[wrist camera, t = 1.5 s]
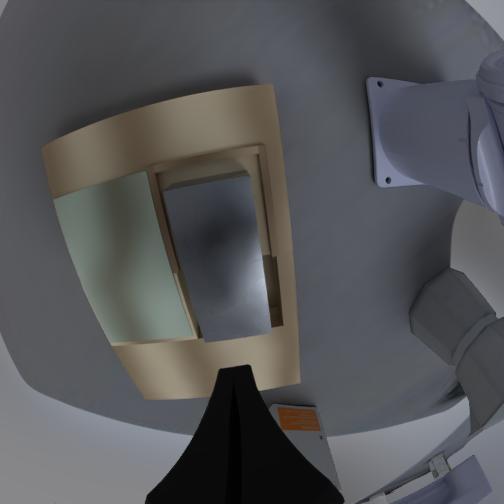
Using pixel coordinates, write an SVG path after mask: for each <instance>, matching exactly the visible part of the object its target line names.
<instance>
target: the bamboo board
mask: <svg viewBox="0 0 504 504" xmlns="http://www.w3.org/2000/svg"><path fill="white" fill-rule="evenodd" d="M41 148H42V154H43V159H44V165H45V170H46V175H47V179H48V184H49V188H50V192H51V196H52V200H53V204H54V207H55V211H56V214H57V218H58V221H59V224H60V228H61V231H62V234H63V237H64V240H65V243H66V246H67V249H68V251H69V254H70V257H71V259H72V262H73V265H74V267H75V270H76V272H77V275H78V277H79V280H80V282H81V284H82V287H83V289H84V291H85V294H86V296H87V298H88V300H89V302H90V304H91V307H92V309H93V311H94V313H95V315H96V317H97V319H98V321H99V323H100V325H101V327H102V329H103V331H104V333H105V334H106V336H107V338H108V340H109V342H110V344H111V345H112V347H113V349H114V351H115V352H116V354H117V356H118V358H119V359H120V361H121V363H122V364H123V366H124V368H125V369H126V371H127V372H128V374H129V376H130V377H131V379H132V380H133V382H134V383H135V385H136V386H137V388H138V389H139V391H140V392H141V394H142V395H143V397H144V398H145V400H161V399H186V398H201V397H211V395H212V392H213V389H214V385H215V382H216V378H217V374H218V370H219V369H220V368H227V367H234V366H240V365H246V364H249V365H251V368H252V371H253V375H254V378H255V382H256V385H257V388H258V391H261V390H267V389H273V388H278V387H284V386H289V385H294V384H299V383H300V357H299V334H298V315H297V298H296V283H295V269H294V257H293V245H292V233H291V222H290V212H289V202H288V193H287V183H286V175H285V166H284V158H283V150H282V142H281V134H280V127H279V119H278V112H277V106H276V99H275V92H274V86H273V83H272V84H261V85H251V86H242V87H235V88H228V89H221V90H215V91H209V92H204V93H198V94H193V95H188V96H184V97H179V98H175V99H171V100H167V101H163V102H159V103H155V104H151V105H148V106H144V107H141V108H137V109H134V110H131V111H128V112H125V113H121V114H118V115H116V116H113V117H110V118H107V119H104V120H101V121H99V122H96V123H94V124H91V125H88V126H86V127H83V128H81V129H79V130H76V131H74V132H72V133H69V134H67V135H65V136H63V137H60V138H58V139H56V140H54V141H52V142H50V143H48V144H46V145H44V146H42V147H41ZM243 170H247V171H248V173H249V174H250V176H251V183H252V190H253V197H254V204H255V211H256V218H257V225H258V232H259V239H260V247H261V254H262V261H263V269H264V276H265V283H266V291H267V298H268V306H269V313H270V321H271V329H272V333H269V334H263V335H257V336H251V337H245V338H238V339H231V340H224V341H217V342H209V343H205V341H204V338H203V335H202V332H201V329H200V326H199V323H198V320H197V317H196V314H195V310H194V307H193V304H192V301H191V297H190V294H189V291H188V287H187V284H186V280H185V277H184V273H183V270H182V266H181V263H180V259H179V255H178V252H177V248H176V244H175V240H174V236H173V232H172V228H171V224H170V220H169V216H168V211H167V207H166V203H165V198H164V194H163V191H164V190H165V189H167V188H168V187H169V186H170V185H171V184H172V183H177V182H182V181H187V180H192V179H197V178H202V177H207V176H213V175H219V174H224V173H230V172H237V171H243Z"/></svg>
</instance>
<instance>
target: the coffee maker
mask: <svg viewBox="0 0 504 504" xmlns="http://www.w3.org/2000/svg"><path fill="white" fill-rule="evenodd" d="M409 318H410V325H411V332H412V334H414V335H415V336H416V337H417V338H418V339H420V340H421V341H422V342H423V343H424V344H425V345H427V346H428V347H429V348H430V349H431V350H432V351H433V352H435V353H436V354H437V355H438V356H439V357H440V358H441V359H443V360H444V361H445V362H446V363H447V364H448V365H449V366H457V368H456V372H455V374H456V376H457V378H458V380H459V382H460V384H461V386H462V388H463V390H464V392H465V394H466V396H467V398H468V400H469V406H470V422H471V432H470V434H469V436H468V438H470V437H472V436H473V435H475V434H476V433H478V432H479V431H480V430H482V429H487V428H489V427H491V426H493V425H495V424H496V423H498V422H500V421H502V420H503V419H504V317H502V318H500V319H498V318H497V317H496V312H495V311H494V310H493V309H492V307H491V306H490V304H489V303H488V302H487V300H486V299H485V298H484V297H483V295H482V294H481V293H480V292H479V291H478V289H477V288H476V287H475V286H474V284H473V283H472V282H471V281H470V280H469V279H468V278H467V276H466V275H465V274H464V273H462V272H460V271H457V270H454V269H452V268H449V267H448V268H446V269H445V270H444V271H442V272H441V273H440V274H438V275H437V276H435V277H434V278H433V279H431V280H430V281H428V282H427V283H425V284H424V286H423V288H422V290H421V292H420V294H419V295H418V297H417V299H416V301H415V303H414V304H413V306H412V308H411V310H410V311H409Z"/></svg>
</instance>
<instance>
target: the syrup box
mask: <svg viewBox="0 0 504 504" xmlns="http://www.w3.org/2000/svg"><path fill="white" fill-rule="evenodd" d="M428 465H429V468H430V470H431V472H432V474H433V477H434V479H435V481H436V480H438V479H440V478H441V477H443V476H444V475H445V474H446V473H448V472H449V471H450V470H451V468H450V466H449V464H448V462H447V460H446V458H445V455H444V453H443V452H442V453H440V454H438V455H437V456H435V457H433V458H432V459H431V460H430V461H429V462H428Z"/></svg>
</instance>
